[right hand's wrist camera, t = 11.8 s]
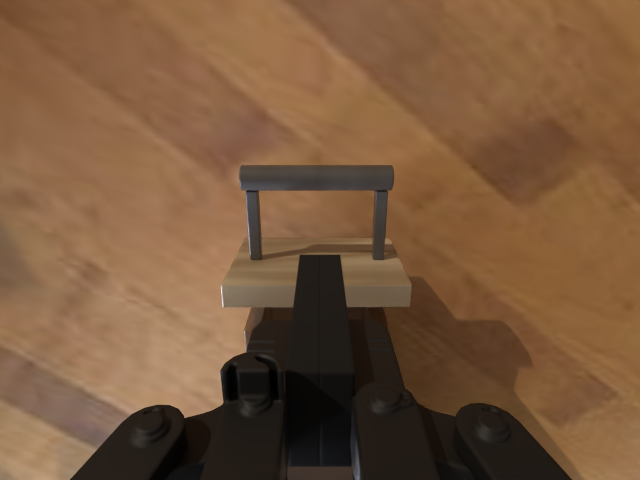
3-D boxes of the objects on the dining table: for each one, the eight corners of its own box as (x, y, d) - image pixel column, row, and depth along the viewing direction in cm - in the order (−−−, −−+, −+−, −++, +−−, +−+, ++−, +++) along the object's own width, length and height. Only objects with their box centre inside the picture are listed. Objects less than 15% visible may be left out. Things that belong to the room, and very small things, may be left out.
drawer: (238, 155, 23) (210, 178, 17) (395, 155, 23) (422, 178, 17) (258, 423, 30) (242, 507, 24) (378, 423, 30) (392, 507, 24)
